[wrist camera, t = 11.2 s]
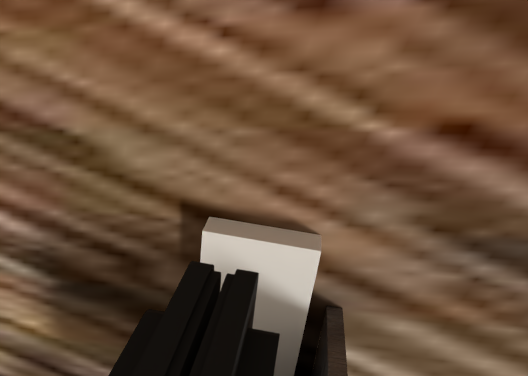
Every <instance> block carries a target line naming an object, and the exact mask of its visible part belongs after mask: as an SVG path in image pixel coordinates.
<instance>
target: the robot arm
mask: <svg viewBox="0 0 528 376" xmlns="http://www.w3.org/2000/svg"><path fill="white" fill-rule="evenodd" d="M258 277H259V273H258V272H252V271H246V270H241V269H237V270H236V272H235V274H229V273H227V275H226V277H225V280H224V282H223V285H222V288H221V291H220V287H221V272H218V271H214V265H212V264H207V263H201V262H195V261H191V262H190V264H189V266H188V268H187V270H186V271H185V273H184V275H183V277H182V279H181V281H180V283H179V285H178V287H177V289H176V291H175V293H174V295H173V297H172V299H171V301H170V303H169V305H168V306H167V308H166V310H165V312H162V311H157V310H152V309H149V310H147V311H146V312H145V314H144V315H143V317H142V318H141V320H140V322H139V324H138V325H137V327H136V329H135V331H134V332H133V334H132V336H131V338H130V339H129V341H128V343H127V345H126V346H125V348H124V350H123V351H122V353H121V355H120V357H119V358H118V360H117V362H116V364H115V365H114V367H113V369H112V371H111V372H110V374H109V376H274V369H275V363H276V356H277V350H278V343H279V337H280V334H279V333H274V332H269V331H263V330H258V329H253V328H252V327H253V319H254V311H255V302H256V294H257V286H258Z"/></svg>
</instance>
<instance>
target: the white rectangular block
mask: <svg viewBox="0 0 528 376" xmlns="http://www.w3.org/2000/svg"><path fill="white" fill-rule="evenodd" d="M320 255H321V235H317V234H311V233H305V232H299V231H293V230H287V229H281V228H275V227H269V226H263V225H257V224H251V223H245V222H239V221H233V220H227V219H221V218H215V217H209V218H208V220H207V222H206V225H205V227H204V229H203V231H202V244H201V258H200V262H201V263H207V264H212V265H214V271H218V272H221V287H220V291H221V288H222V285H223V282H224V280H225V277H226V275H227V273H229V274H235V272H236V270H237V269H241V270H246V271H252V272H258V273H259V277H258V286H257V294H256V302H255V311H254V319H253V327H252V328H253V329H258V330H263V331H269V332H274V333H279V334H280V337H279V343H278V350H277V356H276V363H275V369H274V376H294V373H295V368H296V364H297V359H298V355H299V350H300V346H301V341H302V336H303V332H304V327H305V323H306V318H307V314H308V309H309V305H310V300H311V296H312V291H313V286H314V282H315V277H316V273H317V268H318V264H319V259H320Z"/></svg>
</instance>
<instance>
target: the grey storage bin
mask: <svg viewBox="0 0 528 376" xmlns="http://www.w3.org/2000/svg"><path fill="white" fill-rule="evenodd" d="M311 376H348V375H347V362H346V349H345V336H344V323H343V310H342V308H338V307H332V306H326V311H325V315H324V320H323V324H322V329H321V333H320V338H319V342H318V347H317V351H316V356H315V361H314V365H313V370H312V374H311Z"/></svg>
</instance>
